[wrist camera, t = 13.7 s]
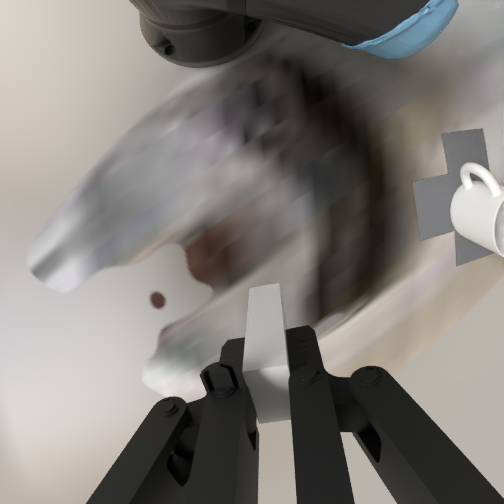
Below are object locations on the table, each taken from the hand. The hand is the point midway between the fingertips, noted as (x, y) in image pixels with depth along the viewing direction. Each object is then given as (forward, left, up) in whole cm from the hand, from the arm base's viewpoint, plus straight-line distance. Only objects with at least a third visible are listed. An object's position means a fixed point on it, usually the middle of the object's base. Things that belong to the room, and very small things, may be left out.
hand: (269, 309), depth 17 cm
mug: (+4, +29, -24) cm, 37 cm away
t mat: (+4, +27, -24) cm, 36 cm away
